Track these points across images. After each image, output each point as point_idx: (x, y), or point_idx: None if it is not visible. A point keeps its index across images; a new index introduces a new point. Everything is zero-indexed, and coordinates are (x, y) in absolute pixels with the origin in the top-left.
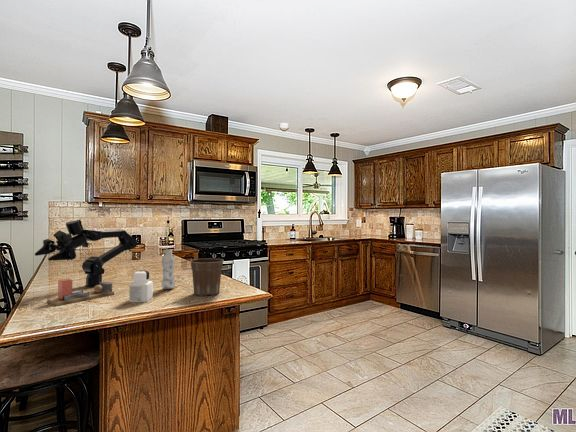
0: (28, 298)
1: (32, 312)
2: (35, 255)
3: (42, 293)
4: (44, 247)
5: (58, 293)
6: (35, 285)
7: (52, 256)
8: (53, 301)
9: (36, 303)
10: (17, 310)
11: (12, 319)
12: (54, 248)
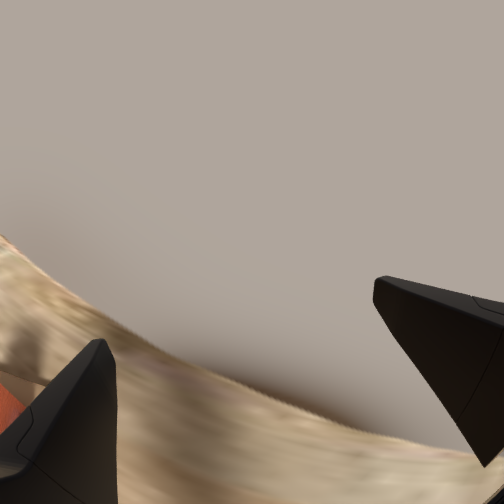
0: (229, 401)
1: (13, 299)
2: (373, 298)
3: (297, 477)
4: (499, 325)
5: (18, 402)
6: (484, 468)
7: (70, 368)
8: (18, 378)
9: None
10: (72, 295)
11: (16, 253)
12: (492, 497)
